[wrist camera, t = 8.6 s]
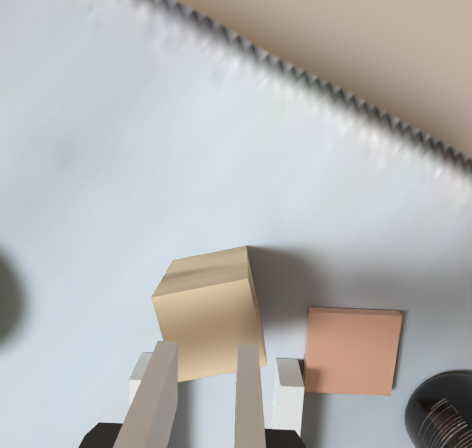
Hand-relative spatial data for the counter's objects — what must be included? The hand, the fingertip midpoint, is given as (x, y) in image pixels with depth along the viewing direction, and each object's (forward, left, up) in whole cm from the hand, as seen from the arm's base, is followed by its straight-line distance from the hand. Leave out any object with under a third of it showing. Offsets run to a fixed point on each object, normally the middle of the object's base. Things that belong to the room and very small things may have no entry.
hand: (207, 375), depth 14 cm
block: (-1, 0, -11) cm, 11 cm away
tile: (-5, -9, -11) cm, 15 cm away
